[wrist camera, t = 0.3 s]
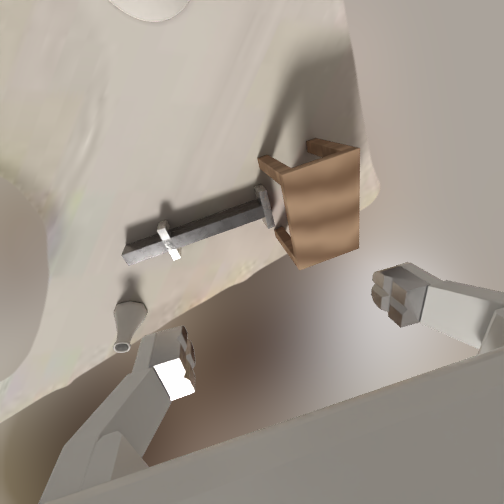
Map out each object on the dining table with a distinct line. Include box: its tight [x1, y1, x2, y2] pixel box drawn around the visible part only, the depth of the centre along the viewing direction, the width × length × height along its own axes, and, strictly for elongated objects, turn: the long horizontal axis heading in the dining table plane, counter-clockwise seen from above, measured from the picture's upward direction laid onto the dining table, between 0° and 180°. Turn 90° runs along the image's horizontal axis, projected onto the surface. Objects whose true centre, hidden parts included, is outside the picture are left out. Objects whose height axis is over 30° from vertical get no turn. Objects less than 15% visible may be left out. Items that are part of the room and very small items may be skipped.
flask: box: [113, 301, 148, 353], centre depth 51 cm, size 7×7×10 cm
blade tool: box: [121, 184, 275, 265], centre depth 46 cm, size 8×30×4 cm, turn 105°
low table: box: [257, 138, 360, 270], centre depth 44 cm, size 18×12×14 cm, turn 14°
